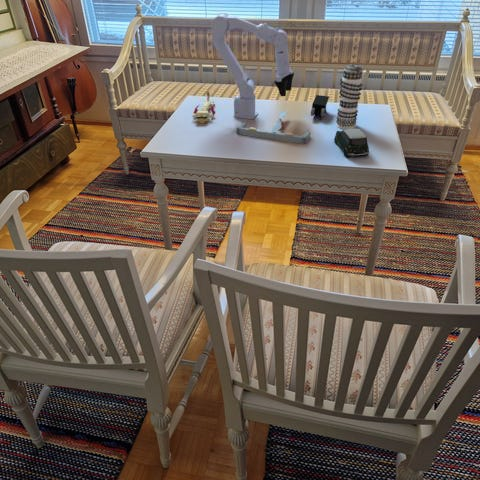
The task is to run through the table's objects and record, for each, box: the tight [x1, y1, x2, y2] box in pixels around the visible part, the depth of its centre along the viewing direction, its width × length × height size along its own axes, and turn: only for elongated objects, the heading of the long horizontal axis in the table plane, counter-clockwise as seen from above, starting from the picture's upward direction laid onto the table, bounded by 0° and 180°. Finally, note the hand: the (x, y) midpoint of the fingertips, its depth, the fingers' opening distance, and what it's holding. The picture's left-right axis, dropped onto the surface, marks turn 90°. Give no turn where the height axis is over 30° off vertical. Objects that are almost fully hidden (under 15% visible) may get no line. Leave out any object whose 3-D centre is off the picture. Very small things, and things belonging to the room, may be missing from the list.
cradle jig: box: [236, 121, 311, 145], centre depth 177 cm, size 30×8×3 cm, turn 67°
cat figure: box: [192, 91, 216, 124], centre depth 196 cm, size 10×9×25 cm
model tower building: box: [335, 63, 364, 130], centre depth 178 cm, size 9×9×25 cm
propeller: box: [271, 110, 288, 132], centre depth 183 cm, size 4×25×4 cm, turn 161°
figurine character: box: [310, 94, 330, 121], centre depth 194 cm, size 7×8×15 cm
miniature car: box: [333, 127, 370, 158], centre depth 163 cm, size 9×18×8 cm, turn 6°
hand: (285, 93), depth 189 cm, fingers open, 7 cm apart
